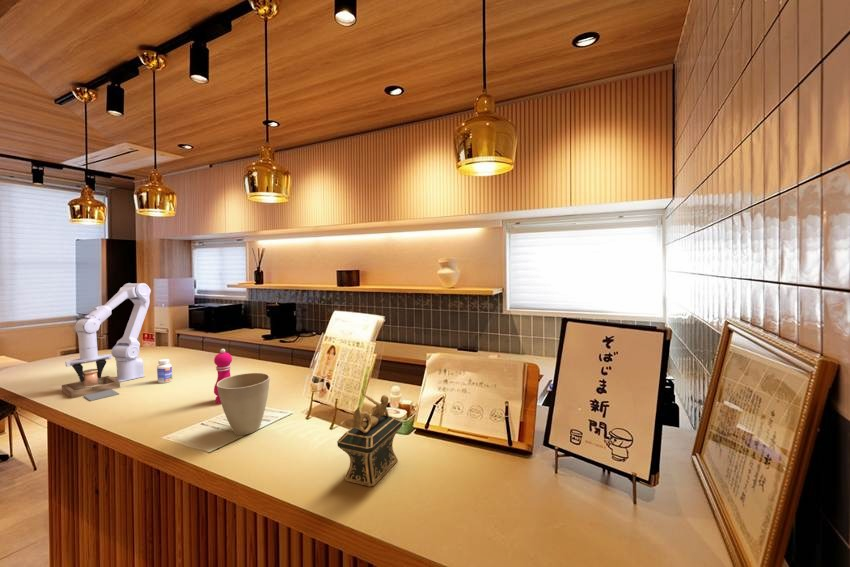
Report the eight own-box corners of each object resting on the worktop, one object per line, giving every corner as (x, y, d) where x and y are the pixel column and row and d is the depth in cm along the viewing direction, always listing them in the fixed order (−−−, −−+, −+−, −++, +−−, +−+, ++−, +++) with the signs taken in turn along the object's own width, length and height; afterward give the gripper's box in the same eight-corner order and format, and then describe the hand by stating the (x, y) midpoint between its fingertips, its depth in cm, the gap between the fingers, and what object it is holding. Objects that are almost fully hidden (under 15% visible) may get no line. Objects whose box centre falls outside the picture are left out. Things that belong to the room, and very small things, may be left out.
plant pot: (235, 419, 128) (233, 372, 127) (279, 419, 127) (277, 372, 126) (208, 441, 113) (205, 388, 112) (258, 441, 112) (256, 387, 111)
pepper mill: (240, 398, 147) (237, 347, 146) (223, 405, 141) (220, 351, 139) (227, 396, 150) (224, 345, 149) (210, 402, 144) (207, 350, 142)
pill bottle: (167, 383, 168) (165, 361, 167) (154, 383, 168) (153, 361, 167) (175, 379, 173) (174, 358, 173) (163, 379, 173) (162, 358, 173)
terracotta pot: (97, 382, 165) (96, 368, 165) (100, 384, 162) (99, 370, 162) (81, 385, 161) (80, 371, 160) (84, 387, 158) (83, 373, 157)
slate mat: (111, 390, 160) (111, 389, 160) (119, 394, 155) (119, 393, 155) (83, 396, 153) (83, 395, 153) (90, 401, 147) (90, 400, 147)
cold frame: (108, 381, 172) (107, 375, 172) (120, 387, 163) (119, 381, 163) (62, 391, 160) (61, 385, 160) (71, 398, 151) (71, 392, 151)
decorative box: (372, 450, 105) (371, 380, 104) (404, 457, 102) (402, 384, 100) (326, 491, 87) (324, 406, 86) (363, 501, 83) (360, 413, 82)
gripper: (107, 343, 169) (109, 373, 169) (62, 349, 157) (65, 382, 158) (112, 345, 164) (114, 376, 165) (67, 352, 153) (69, 385, 154)
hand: (90, 379), depth 161 cm, fingers closed on terracotta pot, 5 cm apart
